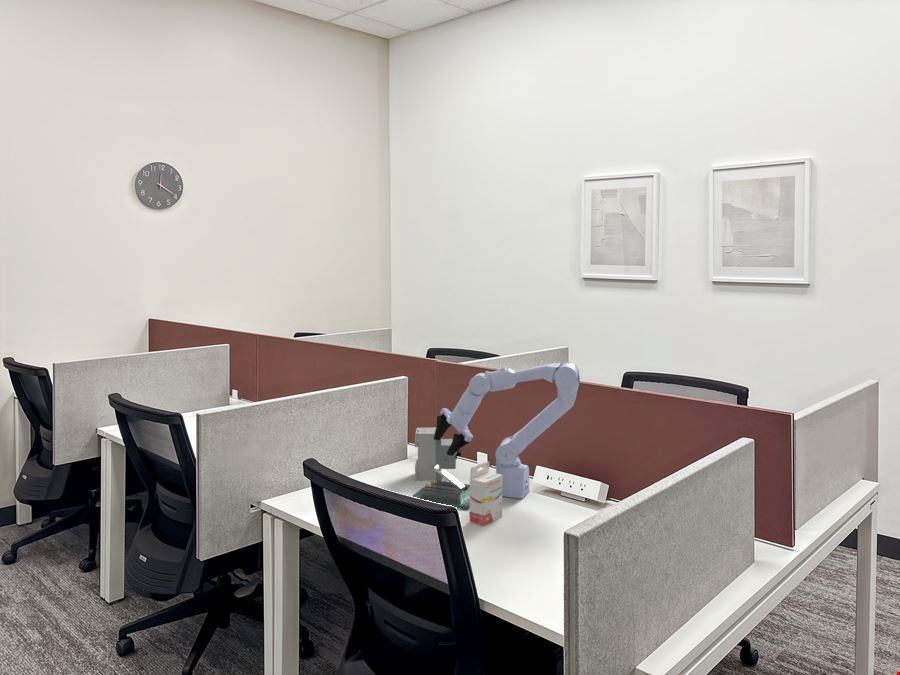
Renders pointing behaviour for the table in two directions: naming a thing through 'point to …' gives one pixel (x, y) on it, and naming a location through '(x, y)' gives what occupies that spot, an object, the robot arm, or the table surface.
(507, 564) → the table surface
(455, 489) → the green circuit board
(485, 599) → the table surface
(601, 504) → the table surface
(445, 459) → the circuit breaker
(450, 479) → the grey flat bar
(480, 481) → the ink cartridge box
